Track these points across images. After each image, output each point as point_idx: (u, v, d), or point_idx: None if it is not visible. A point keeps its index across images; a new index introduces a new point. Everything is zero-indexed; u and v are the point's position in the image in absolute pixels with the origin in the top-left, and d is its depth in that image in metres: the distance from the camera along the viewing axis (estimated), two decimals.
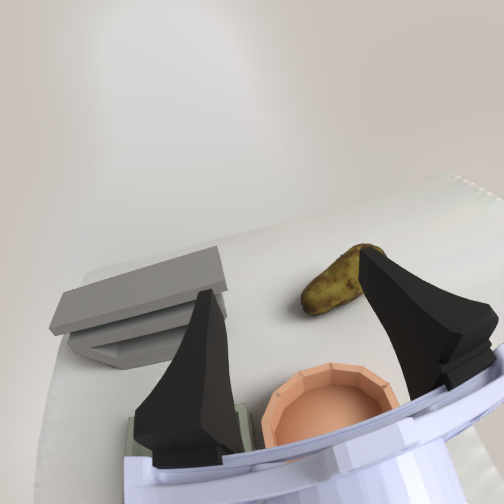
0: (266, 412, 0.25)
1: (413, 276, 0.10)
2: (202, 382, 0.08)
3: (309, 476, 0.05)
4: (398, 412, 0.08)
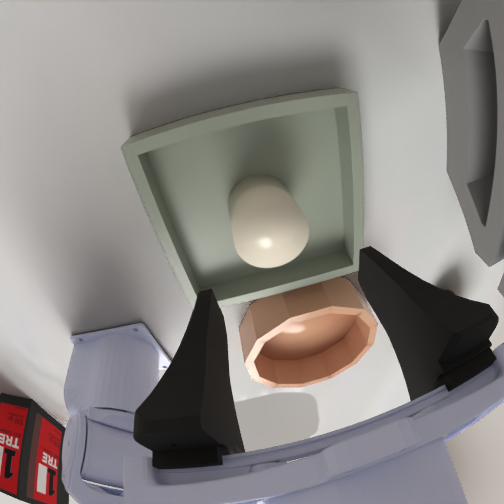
0: (341, 308, 0.23)
1: (413, 276, 0.10)
2: (202, 382, 0.08)
3: (309, 476, 0.05)
4: (399, 412, 0.08)
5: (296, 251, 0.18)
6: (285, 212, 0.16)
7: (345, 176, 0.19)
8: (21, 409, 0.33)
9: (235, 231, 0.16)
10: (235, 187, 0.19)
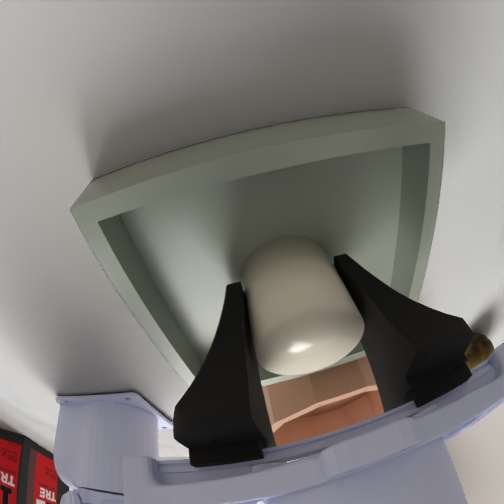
0: None
1: (385, 286, 0.10)
2: (245, 373, 0.08)
3: (309, 476, 0.05)
4: (399, 412, 0.08)
5: (341, 354, 0.12)
6: (336, 316, 0.10)
7: (406, 236, 0.13)
8: (14, 445, 0.27)
9: (258, 343, 0.10)
10: (253, 256, 0.13)
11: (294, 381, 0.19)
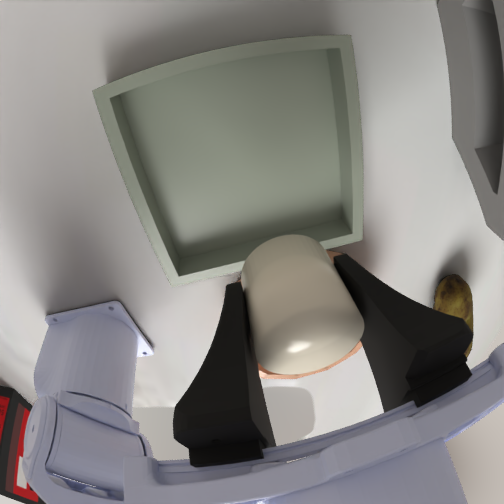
0: None
1: (385, 286, 0.10)
2: (245, 374, 0.08)
3: (309, 476, 0.05)
4: (399, 412, 0.08)
5: (341, 353, 0.12)
6: (336, 315, 0.10)
7: (341, 129, 0.16)
8: (3, 399, 0.30)
9: (258, 342, 0.10)
10: (253, 255, 0.13)
11: None
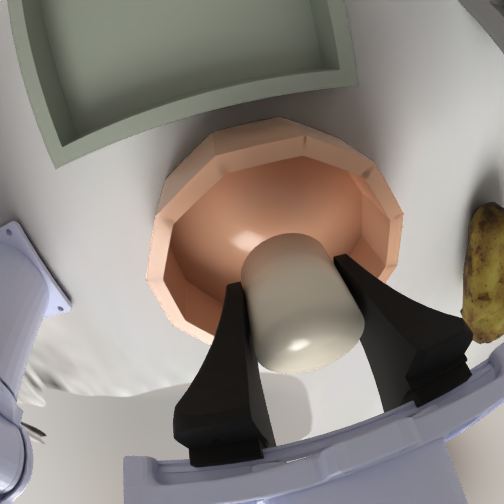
0: (328, 147, 0.11)
1: (385, 286, 0.10)
2: (245, 373, 0.08)
3: (309, 476, 0.05)
4: (398, 412, 0.08)
5: (342, 351, 0.12)
6: (335, 312, 0.10)
7: None
8: None
9: (257, 340, 0.10)
10: (252, 254, 0.13)
11: (194, 158, 0.13)
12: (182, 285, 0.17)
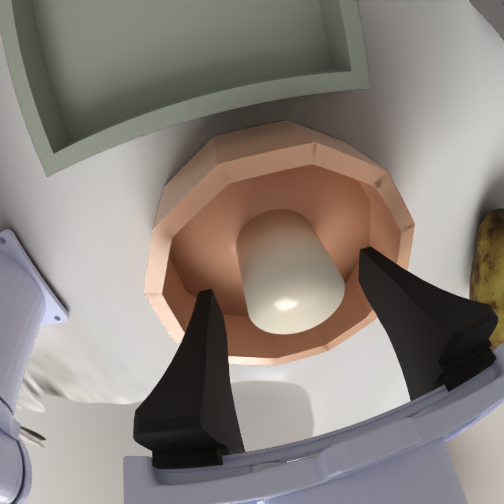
0: (339, 155, 0.10)
1: (413, 276, 0.10)
2: (202, 382, 0.08)
3: (309, 476, 0.05)
4: (399, 412, 0.08)
5: (326, 313, 0.13)
6: (316, 272, 0.12)
7: None
8: None
9: (249, 298, 0.12)
10: (246, 227, 0.15)
11: (195, 165, 0.12)
12: (182, 297, 0.16)
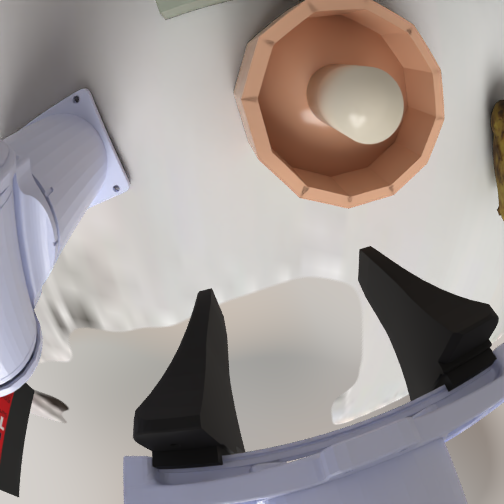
0: (381, 7, 0.11)
1: (413, 276, 0.10)
2: (202, 382, 0.08)
3: (309, 476, 0.05)
4: (398, 412, 0.08)
5: (393, 125, 0.14)
6: (382, 78, 0.12)
7: None
8: None
9: (334, 94, 0.13)
10: (315, 74, 0.15)
11: (280, 17, 0.13)
12: None
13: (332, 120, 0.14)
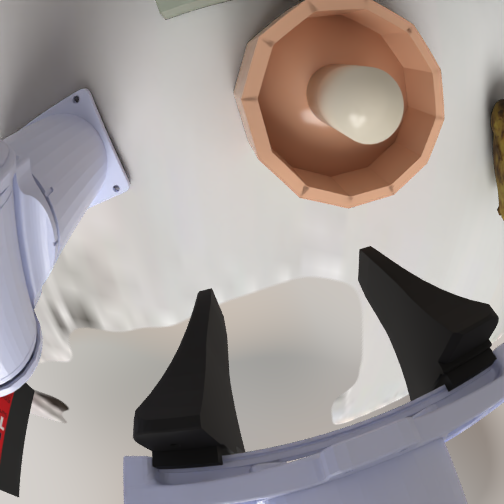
0: (381, 7, 0.11)
1: (413, 276, 0.10)
2: (202, 382, 0.08)
3: (309, 476, 0.05)
4: (399, 412, 0.08)
5: (393, 125, 0.14)
6: (382, 78, 0.12)
7: None
8: None
9: (335, 94, 0.13)
10: (315, 74, 0.15)
11: (280, 16, 0.13)
12: None
13: (332, 120, 0.14)
